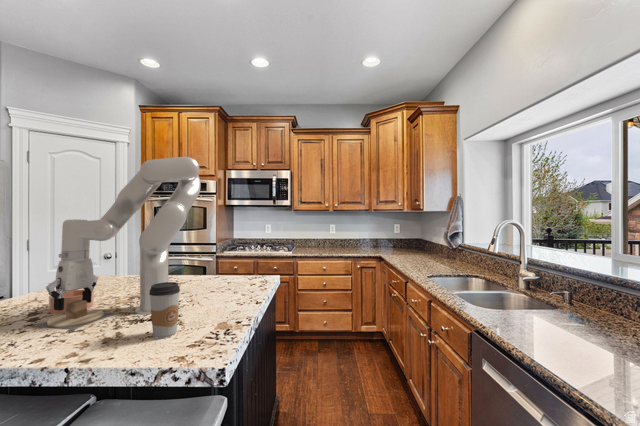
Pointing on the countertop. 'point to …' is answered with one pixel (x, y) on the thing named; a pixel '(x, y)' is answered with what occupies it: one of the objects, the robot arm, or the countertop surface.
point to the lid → (75, 315)
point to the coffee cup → (164, 308)
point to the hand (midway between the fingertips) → (73, 305)
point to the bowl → (69, 300)
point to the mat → (44, 325)
